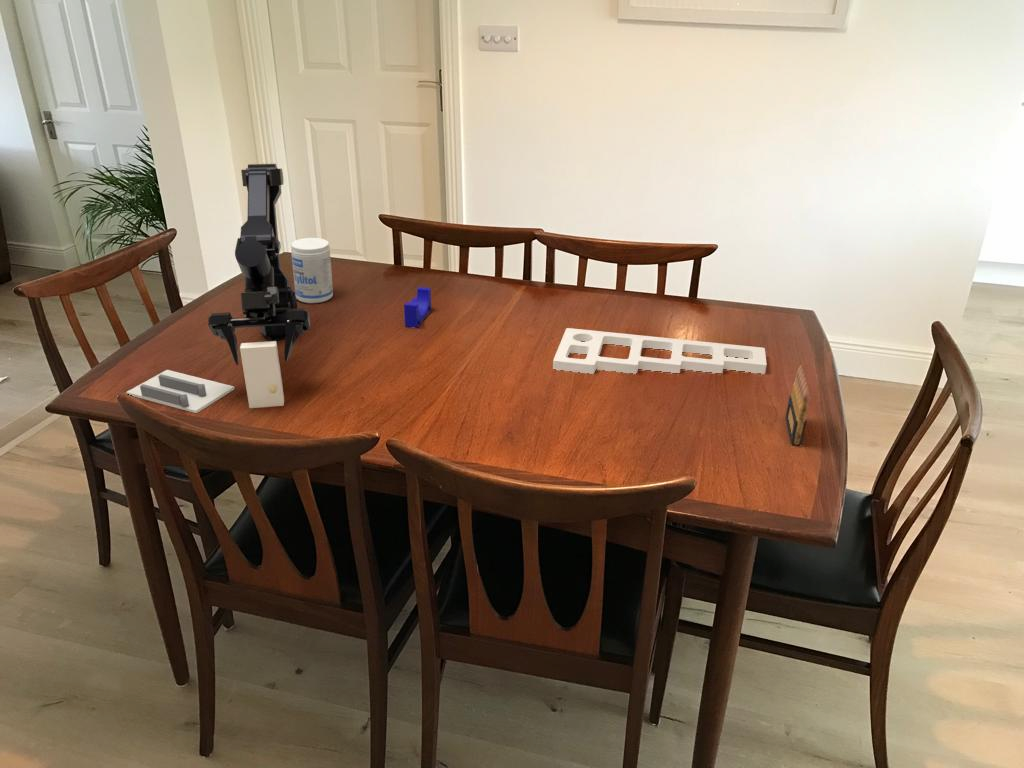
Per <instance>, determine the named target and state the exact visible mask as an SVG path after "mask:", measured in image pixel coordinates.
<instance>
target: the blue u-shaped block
mask: <svg viewBox="0 0 1024 768" xmlns="http://www.w3.org/2000/svg"><path fill="white" fill-rule="evenodd" d="M431 290H432V288H431V287H425V286H423V287H422V286H418V288H417V289H416V297H413V298H412V299H411V300H410V302H405V303H404V304H403V309H404V310H403V313H404V327H405V328H406V327H415V328H414V329H418V328H419V327H418V325H419V326H421V324H422V323H423V321H424V320H425V319H424V318H426V317H427V316H428V315H429V313H430V312H431V311H432V294H431V293H432V291H431ZM430 310H431V311H430ZM427 314H428V315H427ZM426 315H427V316H426ZM423 319H424V320H423ZM421 322H422V323H421ZM420 323H421V324H420ZM417 327H418V328H417Z"/></svg>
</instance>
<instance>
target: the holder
mask: <svg viewBox="0 0 1024 768" xmlns="http://www.w3.org/2000/svg"><path fill="white" fill-rule="evenodd" d="M581 341H585V342H581ZM603 344H615V345H614V346H616V345H623V346H622V347H625V346H630V347H629V348H630V350H629V355H628V358H615V357H607V356H601V353H602V349H603V346H604V345H603ZM602 345H603V346H602ZM642 348H653V349H652V350H654V349H665V350H670V351H672V353H671V355H670V358H660V357H659V358H658V357H651V356H641V355H642V351H643V349H642ZM670 351H669V352H670ZM682 352H692V353H700V354H699V355H702V354H710V355H712V356H711V358H700V357H691V356H684V355H683V353H682ZM569 353H571V354H574V353H578V354H577V355H580V354H587V355H586V357H585V358H584V359H583V358H575V357H573V358H572V357H569V356H570V354H569ZM692 353H691V354H692ZM568 355H569V356H568ZM599 355H600V356H599ZM710 355H709V356H710ZM766 355H767V354H766V349H765V347H759V346H751V345H750V346H749V345H739V344H730V343H729V344H728V343H720V342H712V341H710V342H709V341H701V340H700V341H699V340H690V339H689V340H688V339H681V338H672V337H671V338H669V337H661V336H660V337H659V336H650V335H640V334H639V335H638V334H632V333H631V334H629V333H621V332H619V333H618V332H609V331H600V330H590V329H581V328H579V329H578V328H572V327H567V328H565V330H564V333H563V335H562V338H561V341H560V342H559V345H558V347H557V350H556V352H555V355H554V357H553V360H552V369H556V370H555V371H560V370H564V371H563V372H569V371H572V372H571V373H578V372H580V373H579V374H587V373H589V374H588V375H594V374H595V373H596V372H595V371H602V370H605V371H606V372H611V371H616V372H615V373H620V372H623V373H622V374H629V373H633V374H632V375H637V374H638V371H639V370H638V369H642V370H641V371H645V370H651V371H650V372H654V371H662V372H661V373H663V372H671V373H670V374H672V373H680V374H681V370H680V369H685V370H684V371H687V370H693V371H692V372H696V371H702V372H701V373H705V372H712V373H711V374H715V373H722V374H723V373H724V370H723V369H727V370H726V371H729V370H736V371H735V372H738V371H745V372H744V373H748V372H751V374H757V373H761V374H760V375H765V374H766V371H767V356H766ZM726 356H728V357H726ZM735 357H738V358H735ZM744 358H748V359H744ZM596 369H597V370H596ZM636 373H637V374H636Z"/></svg>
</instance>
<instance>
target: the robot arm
mask: <svg viewBox="0 0 1024 768" xmlns="http://www.w3.org/2000/svg"><path fill="white" fill-rule="evenodd" d="M277 166H278V165H277V163H255V164H254V163H251V164H250V163H249V164H248V165H247V168H245V169H241V170H240V171H241V179H242V187H246V189H247V217H246V219H247V220H246V221H245V222H244V223H243V225H241V227H240V236H239V237H238V238H237V239H236V244H235V250H234V257H235V259H236V262H237V264H238V266H239V269H240V272H241V274H242V276H244V277H243V278H244V280H243V281H244V282H243V284H244V286H243V287H244V292H240V300H241V301H240V303H241V310H242V311H241V312H242V314H243V315H245V316H244V317H233V316H232V314H231V312H228V311H226V312H225V311H224V312H211V314H210V315H209V316H208V318H207V319H208V321H207V322H208V327H209V329H210V330H211V333H212V335H213V336H215V337H219V338H220V340H223V341H224V340H226V341H227V344H228V347H229V349H230V351H231V354H232V357H233V359H234V363H235V364H236V366H239V365H240V356H239V347H238V338H237V337H238V336H237V334H236V333H235V332H236V329H238V328H239V329H241V328H256V327H260V329H261V330H260V333H261V334H262V335H263V336H265V337H266V338H267V339H269V340H270V341H279V340H283V339H285V341H284V351H283V353H284V356H283V357H284V362H285V363H287V362H288V361H289V358H290V356H291V353H292V350H293V349H294V346H295V343H297V340H298V338H299V336H303V335H305V332H309V331H310V330H311V319H310V315H309V311H308V309H306V308H305V307H298V299H297V298H296V294H295V290H294V289H293V287H292V286H290V282H289V279H288V277H287V276H286V275H285V273H284V272H283V270H282V268H281V258H280V253H281V252H280V251H281V248H282V246H281V245H282V244H281V241H280V240H279V231H278V222H277V209H276V204H277V202H278V200H279V199H280V197H281V195H282V186H283V185H284V173H283V168H282V167H281V168H278V167H277Z"/></svg>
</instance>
